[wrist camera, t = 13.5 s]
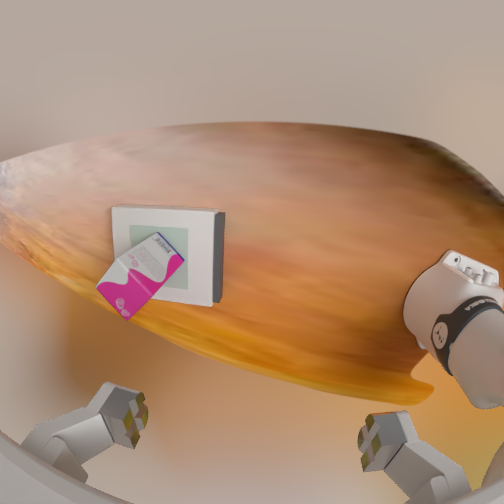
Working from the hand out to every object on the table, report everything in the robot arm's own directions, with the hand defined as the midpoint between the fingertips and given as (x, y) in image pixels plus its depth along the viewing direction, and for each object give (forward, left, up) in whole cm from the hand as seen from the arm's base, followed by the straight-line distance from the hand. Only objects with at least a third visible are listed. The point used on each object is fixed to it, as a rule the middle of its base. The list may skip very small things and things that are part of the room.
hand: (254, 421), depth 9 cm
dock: (+16, +5, -33) cm, 37 cm away
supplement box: (+16, +5, -30) cm, 34 cm away
